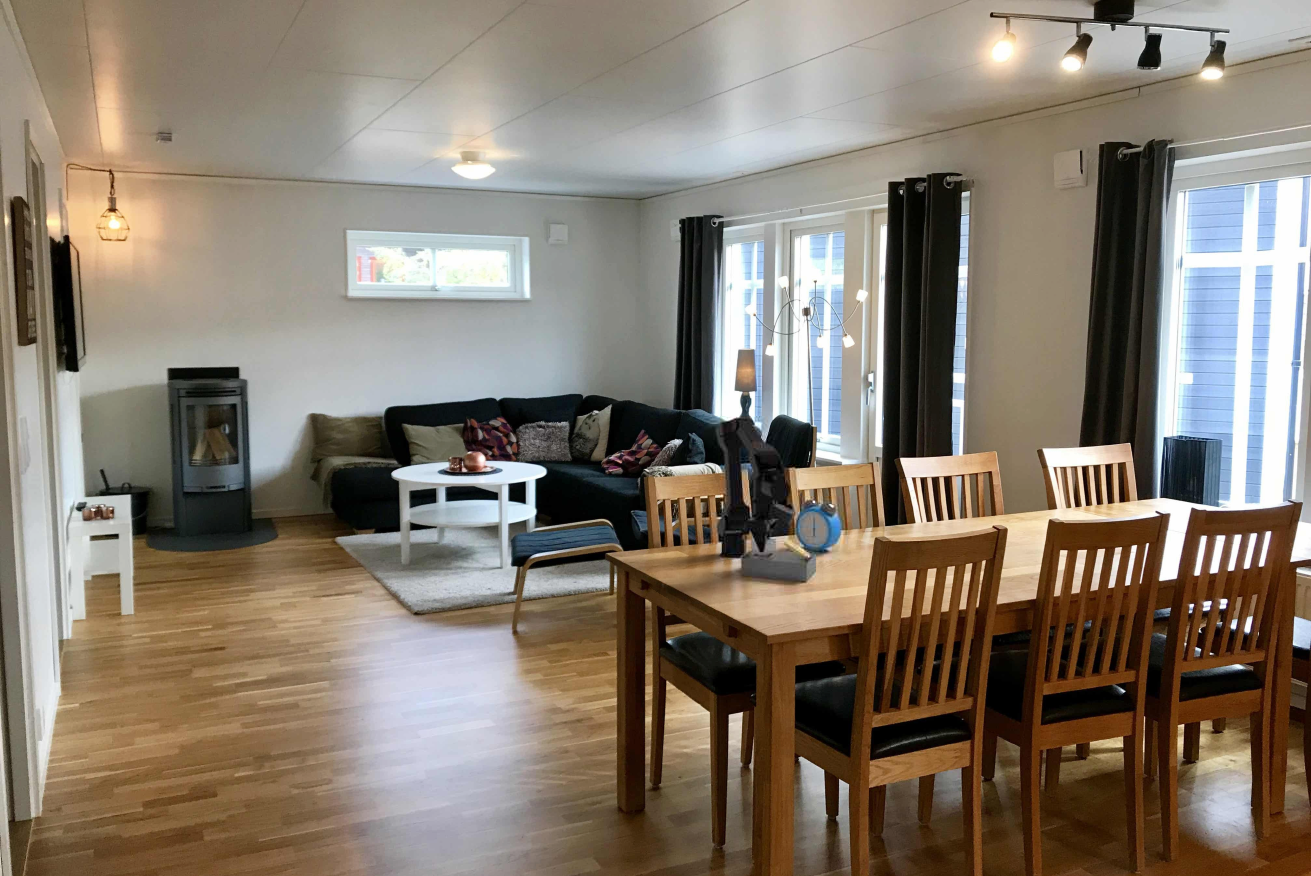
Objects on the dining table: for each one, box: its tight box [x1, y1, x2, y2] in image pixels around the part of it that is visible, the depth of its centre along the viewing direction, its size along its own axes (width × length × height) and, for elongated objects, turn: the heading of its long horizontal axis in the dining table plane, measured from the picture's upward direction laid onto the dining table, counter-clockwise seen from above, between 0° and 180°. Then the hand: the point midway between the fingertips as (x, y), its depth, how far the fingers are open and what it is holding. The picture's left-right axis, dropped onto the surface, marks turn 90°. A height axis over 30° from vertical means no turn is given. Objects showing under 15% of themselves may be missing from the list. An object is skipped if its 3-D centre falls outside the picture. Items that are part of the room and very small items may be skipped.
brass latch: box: [783, 539, 812, 560], centre depth 281 cm, size 8×4×1 cm
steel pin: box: [750, 536, 777, 557], centre depth 284 cm, size 6×3×8 cm, turn 70°
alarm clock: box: [794, 499, 842, 554], centre depth 312 cm, size 13×6×15 cm, turn 48°
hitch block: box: [740, 549, 817, 583], centre depth 283 cm, size 18×12×5 cm, turn 70°
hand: (763, 550), depth 284 cm, fingers closed on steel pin, 3 cm apart
